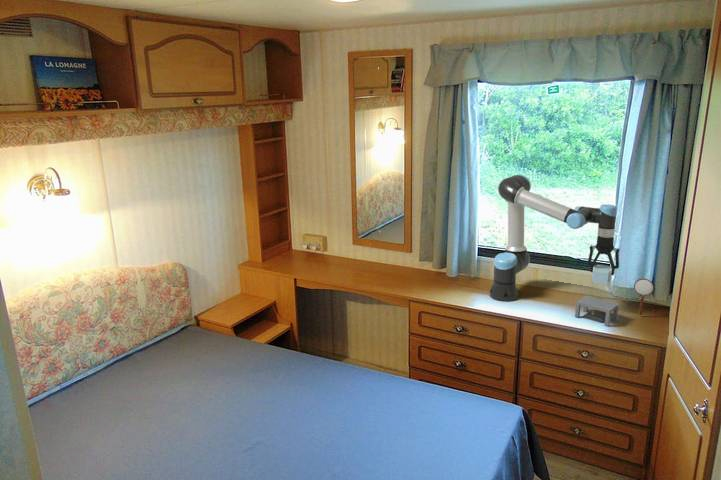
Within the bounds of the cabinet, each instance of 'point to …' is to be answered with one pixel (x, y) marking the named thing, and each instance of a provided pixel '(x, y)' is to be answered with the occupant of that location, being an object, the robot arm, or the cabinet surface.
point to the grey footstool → (597, 308)
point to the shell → (601, 274)
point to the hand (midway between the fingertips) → (601, 279)
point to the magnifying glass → (643, 290)
